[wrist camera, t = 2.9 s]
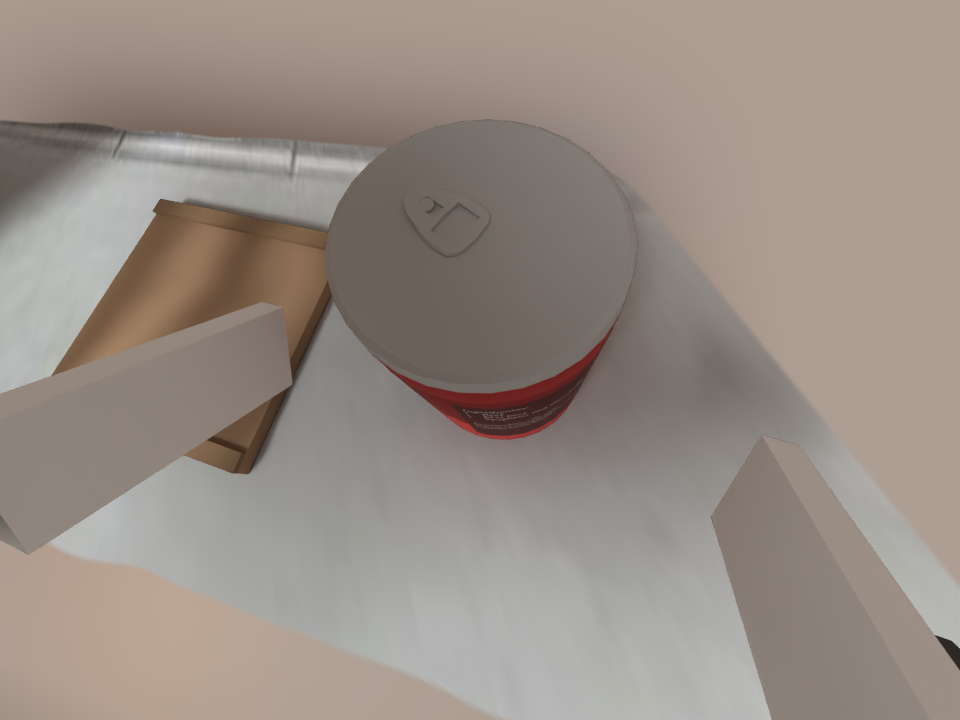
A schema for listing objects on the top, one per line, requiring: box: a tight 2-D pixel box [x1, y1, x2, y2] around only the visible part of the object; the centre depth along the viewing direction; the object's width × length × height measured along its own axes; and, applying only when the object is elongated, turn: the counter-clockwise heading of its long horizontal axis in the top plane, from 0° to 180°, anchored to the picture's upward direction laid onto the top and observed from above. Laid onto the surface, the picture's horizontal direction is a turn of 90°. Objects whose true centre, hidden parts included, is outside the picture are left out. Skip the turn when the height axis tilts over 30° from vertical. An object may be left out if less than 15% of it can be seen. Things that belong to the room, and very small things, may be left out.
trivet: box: [52, 199, 332, 474], centre depth 22 cm, size 14×14×1 cm
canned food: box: [325, 119, 637, 440], centre depth 14 cm, size 8×8×11 cm
